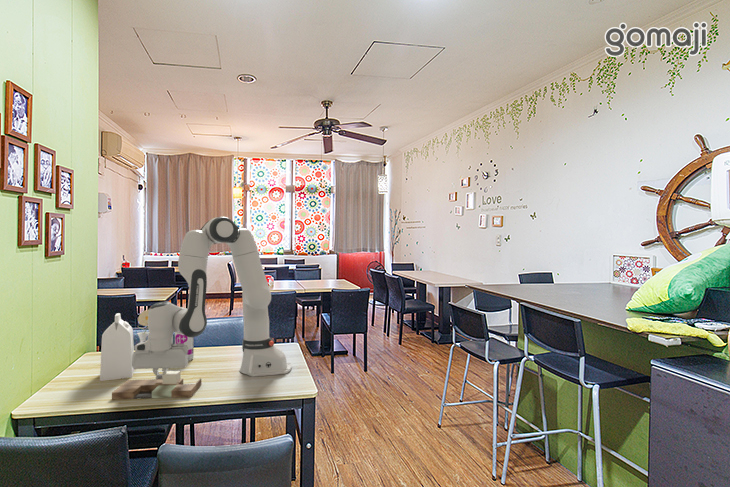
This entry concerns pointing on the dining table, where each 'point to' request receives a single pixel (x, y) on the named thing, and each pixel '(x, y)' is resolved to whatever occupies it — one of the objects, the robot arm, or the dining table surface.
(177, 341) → the supplement can
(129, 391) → the board
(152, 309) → the robot arm
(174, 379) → the cream block
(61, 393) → the dining table surface
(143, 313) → the flower in vase
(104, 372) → the milk
